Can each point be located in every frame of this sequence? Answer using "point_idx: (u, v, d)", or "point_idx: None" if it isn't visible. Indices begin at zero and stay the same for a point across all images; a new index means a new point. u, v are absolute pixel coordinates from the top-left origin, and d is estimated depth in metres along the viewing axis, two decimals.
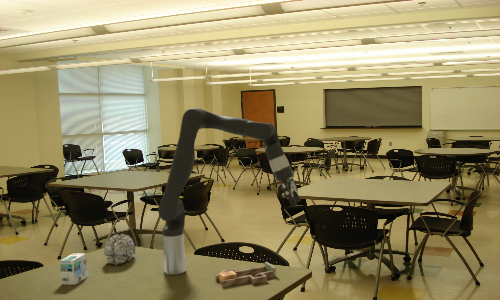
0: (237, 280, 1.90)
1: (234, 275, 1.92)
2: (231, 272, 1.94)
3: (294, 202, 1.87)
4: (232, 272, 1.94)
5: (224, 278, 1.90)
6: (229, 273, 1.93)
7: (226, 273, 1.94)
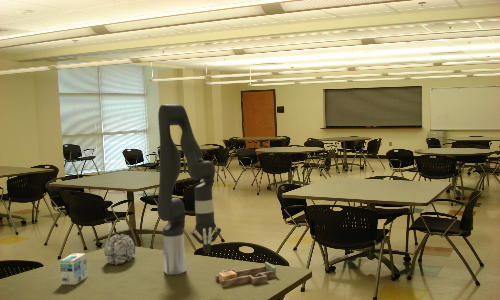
0: (237, 280, 1.90)
1: (235, 275, 1.92)
2: (231, 272, 1.94)
3: (206, 249, 1.88)
4: (231, 272, 1.94)
5: (224, 278, 1.90)
6: (229, 273, 1.93)
7: (226, 273, 1.94)
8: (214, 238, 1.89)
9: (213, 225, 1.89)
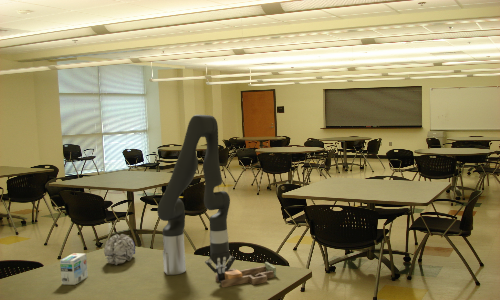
0: (237, 280, 1.90)
1: (240, 274, 1.92)
2: (236, 271, 1.95)
3: (220, 278, 1.91)
4: (237, 271, 1.95)
5: (230, 277, 1.90)
6: (234, 272, 1.94)
7: (232, 272, 1.94)
8: (228, 267, 1.92)
9: (227, 254, 1.91)
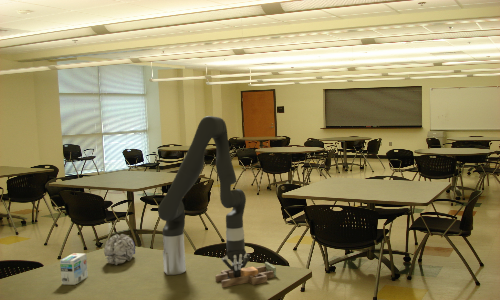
0: (237, 280, 1.90)
1: (256, 271, 1.95)
2: (252, 268, 1.97)
3: None
4: (253, 268, 1.97)
5: (246, 274, 1.93)
6: (250, 269, 1.96)
7: (247, 269, 1.97)
8: (244, 264, 1.94)
9: (243, 252, 1.94)
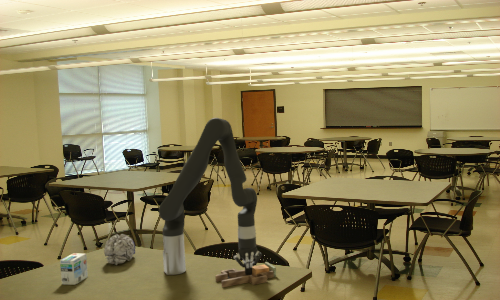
0: (237, 280, 1.90)
1: (267, 269, 1.97)
2: (263, 266, 2.00)
3: (247, 273, 1.96)
4: (264, 266, 2.00)
5: (257, 271, 1.95)
6: (261, 267, 1.99)
7: (259, 266, 1.99)
8: (256, 262, 1.97)
9: (255, 249, 1.96)
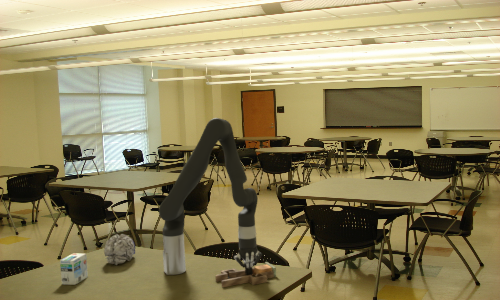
0: (237, 280, 1.90)
1: (270, 269, 1.98)
2: (266, 266, 2.00)
3: (248, 273, 1.96)
4: (267, 266, 2.00)
5: (260, 271, 1.96)
6: (264, 267, 1.99)
7: (261, 266, 1.99)
8: (256, 262, 1.97)
9: (255, 250, 1.97)
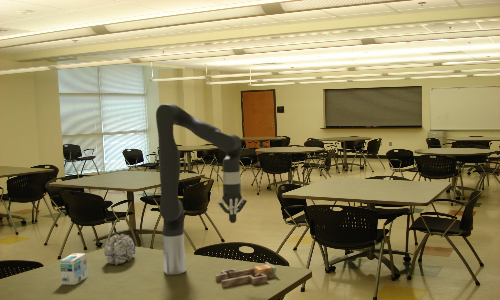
0: (237, 280, 1.90)
1: (270, 269, 1.98)
2: (266, 266, 2.00)
3: (231, 219, 1.97)
4: (267, 266, 2.00)
5: (260, 271, 1.96)
6: (264, 267, 1.99)
7: (261, 266, 1.99)
8: (240, 209, 1.98)
9: (239, 196, 1.97)
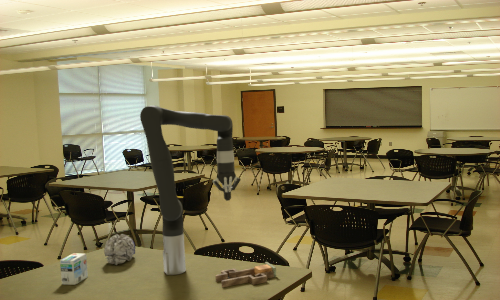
0: (237, 280, 1.90)
1: (270, 269, 1.98)
2: (266, 266, 2.00)
3: (226, 197, 2.03)
4: (267, 266, 2.00)
5: (260, 271, 1.96)
6: (264, 267, 1.99)
7: (261, 266, 1.99)
8: (234, 187, 2.04)
9: (233, 175, 2.04)
